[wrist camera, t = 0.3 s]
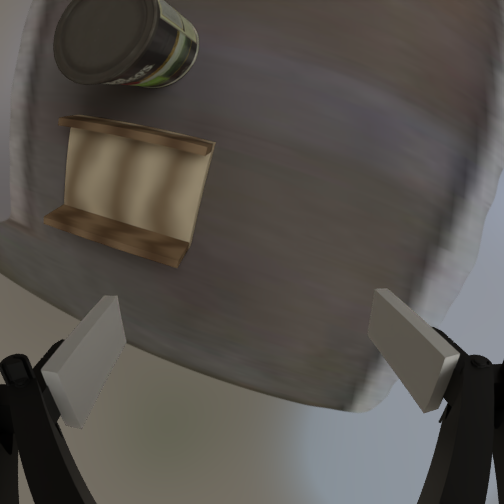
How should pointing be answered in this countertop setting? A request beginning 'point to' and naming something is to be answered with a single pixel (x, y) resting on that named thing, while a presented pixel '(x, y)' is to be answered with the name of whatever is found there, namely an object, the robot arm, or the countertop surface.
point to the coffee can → (124, 43)
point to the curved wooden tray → (132, 187)
